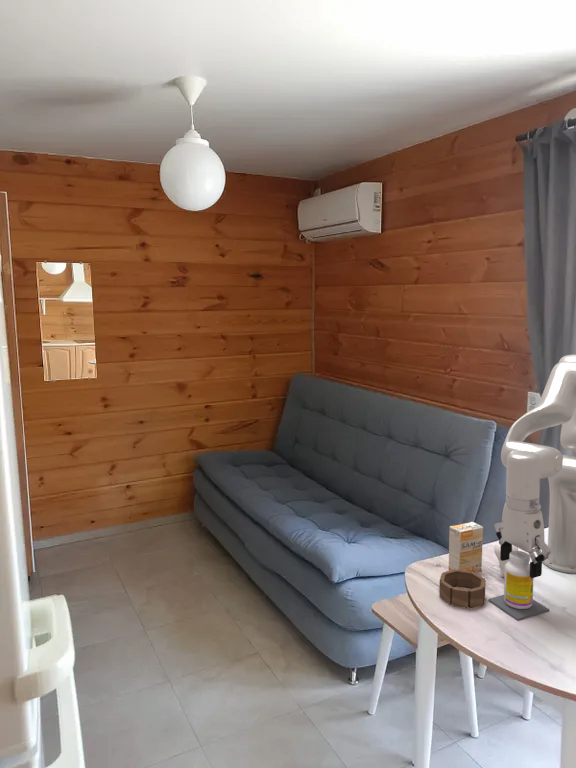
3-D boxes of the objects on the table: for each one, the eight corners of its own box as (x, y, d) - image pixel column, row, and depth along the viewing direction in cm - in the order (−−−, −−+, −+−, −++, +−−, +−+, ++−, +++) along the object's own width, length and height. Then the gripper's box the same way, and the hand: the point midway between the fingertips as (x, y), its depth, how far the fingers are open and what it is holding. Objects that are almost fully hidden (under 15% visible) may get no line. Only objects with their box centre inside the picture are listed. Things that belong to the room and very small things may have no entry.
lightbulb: (517, 574, 159) (519, 536, 158) (516, 584, 154) (517, 545, 152) (494, 570, 162) (495, 533, 160) (492, 580, 157) (493, 542, 155)
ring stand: (465, 582, 156) (465, 566, 155) (494, 601, 146) (494, 585, 145) (431, 591, 152) (431, 575, 151) (458, 611, 142) (459, 594, 141)
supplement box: (459, 577, 159) (460, 532, 157) (447, 569, 163) (448, 525, 161) (482, 570, 162) (483, 526, 160) (470, 563, 167) (472, 520, 164)
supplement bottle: (535, 611, 140) (537, 561, 138) (506, 609, 141) (507, 560, 139) (529, 597, 147) (531, 549, 145) (501, 595, 148) (503, 548, 146)
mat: (518, 592, 150) (518, 590, 150) (549, 611, 141) (549, 609, 141) (488, 600, 147) (488, 598, 146) (517, 620, 137) (517, 618, 137)
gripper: (563, 511, 133) (560, 580, 136) (508, 488, 149) (506, 550, 152) (538, 517, 130) (535, 587, 133) (485, 493, 146) (484, 556, 149)
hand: (520, 567), depth 143 cm, fingers open, 9 cm apart
